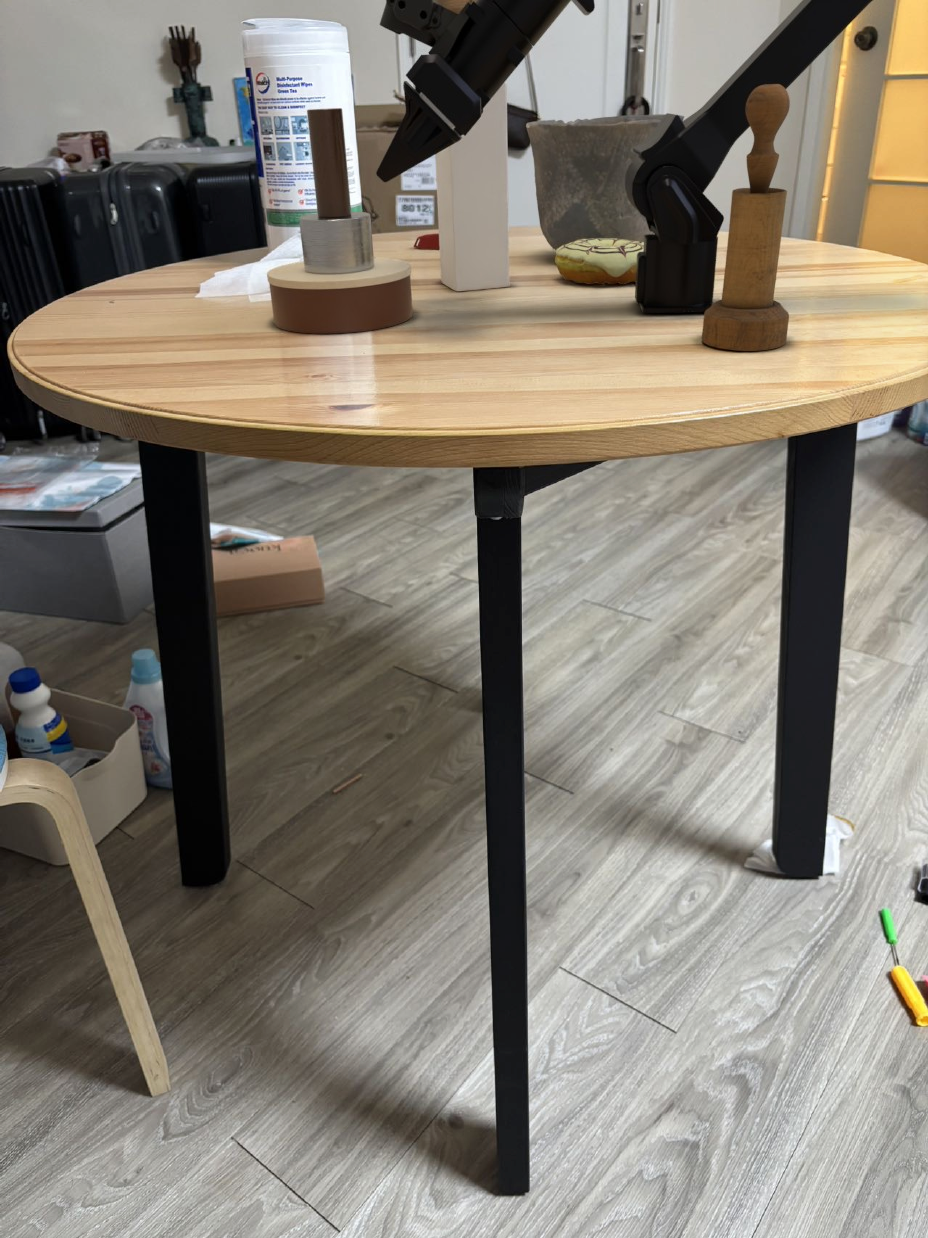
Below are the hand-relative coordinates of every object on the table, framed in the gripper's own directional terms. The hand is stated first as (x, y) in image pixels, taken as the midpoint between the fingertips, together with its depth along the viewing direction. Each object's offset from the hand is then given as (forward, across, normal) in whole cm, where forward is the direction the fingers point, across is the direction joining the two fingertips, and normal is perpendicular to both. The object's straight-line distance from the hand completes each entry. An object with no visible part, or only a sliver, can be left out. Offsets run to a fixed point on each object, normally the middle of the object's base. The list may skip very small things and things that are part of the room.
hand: (385, 174), depth 85 cm
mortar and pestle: (-12, +14, +30) cm, 35 cm away
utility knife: (+6, -42, +12) cm, 44 cm away
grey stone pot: (-7, -31, +25) cm, 40 cm away
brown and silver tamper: (+9, 0, +2) cm, 9 cm away
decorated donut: (-6, -16, +24) cm, 30 cm away
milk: (+4, -15, +14) cm, 21 cm away
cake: (+12, 0, +5) cm, 13 cm away
